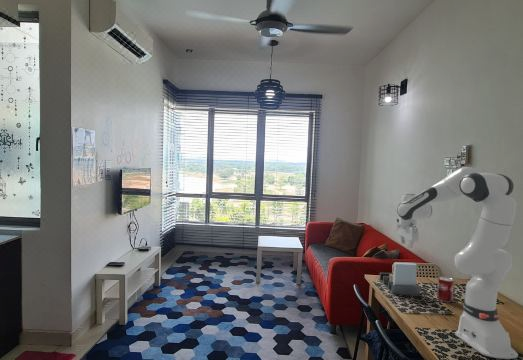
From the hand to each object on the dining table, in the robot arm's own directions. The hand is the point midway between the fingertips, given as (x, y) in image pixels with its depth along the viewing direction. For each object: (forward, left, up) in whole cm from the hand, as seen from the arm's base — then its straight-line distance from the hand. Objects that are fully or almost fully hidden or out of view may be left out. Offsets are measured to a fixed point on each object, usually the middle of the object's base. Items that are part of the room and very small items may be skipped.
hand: (406, 245), depth 176 cm
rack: (+8, 0, -28) cm, 29 cm away
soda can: (-8, -19, -28) cm, 35 cm away
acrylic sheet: (0, 0, -27) cm, 27 cm away
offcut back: (+8, 0, -27) cm, 28 cm away
